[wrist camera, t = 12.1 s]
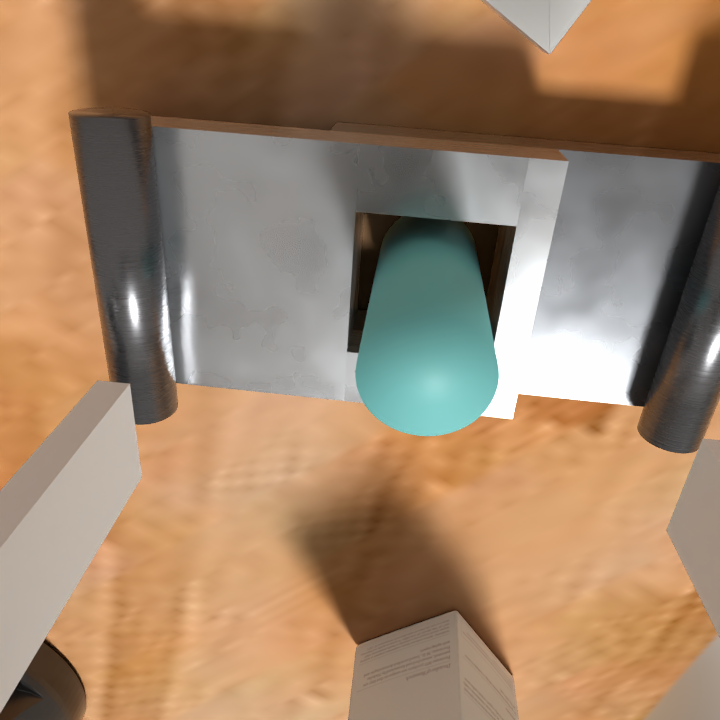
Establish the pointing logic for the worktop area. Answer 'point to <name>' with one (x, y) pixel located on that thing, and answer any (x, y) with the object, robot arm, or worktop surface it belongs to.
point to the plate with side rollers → (343, 258)
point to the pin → (427, 331)
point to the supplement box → (431, 675)
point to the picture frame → (540, 18)
